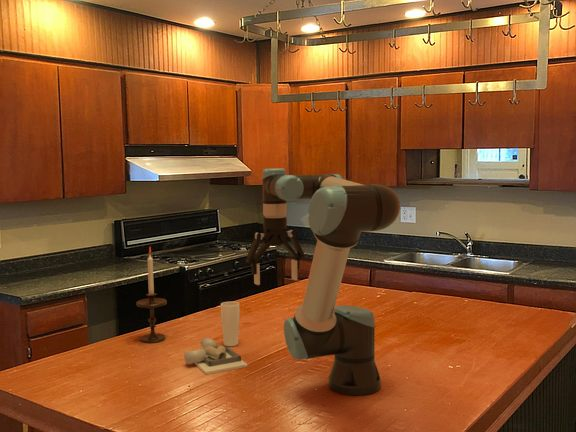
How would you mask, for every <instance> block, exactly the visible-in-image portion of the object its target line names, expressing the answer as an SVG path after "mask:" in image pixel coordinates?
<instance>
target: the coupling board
mask: <svg viewBox="0 0 576 432" xmlns="http://www.w3.org/2000/svg"><path fill="white" fill-rule="evenodd" d="M209 345H210V346H212V347H214V348H216V349H217V347H219V345H218V343H217V342H215V340H213V339H212V338H211V337H209V336H205V337H203V338H202V339H201V340H200V346H201V347H202V348H201V349H199V348H198V349H195V350H188V351H184V354H183V355H184V361H185V364H186V365H191V364H192V365H193V364H194V365H195V366H196V367H197V368H199V370H200V371H202V373H204V374H205V375H211V374H217V373H223V372H226V371H232V370H238V369H242V368H248V363H246V362H245V361H243V359H242V356H241V355H239V354H238V353H237V352H236V351H234V350H233V349H232V348H230V346H224V347H225V348H226V358H224V359H218V360H215V359H213V358H210V357H208V356H206V352H205V348H206V347H207V346H209Z"/></svg>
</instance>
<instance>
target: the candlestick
mask: <svg viewBox="0 0 576 432" xmlns="http://www.w3.org/2000/svg"><path fill="white" fill-rule="evenodd" d="M151 248H152V247H151V245H150V246H149V247H148V249H149V250H148V257H147V283H148V293H147V294H145V296H147V297H148V298H143V299H142V298H141V299H139V300H137V301H136V306H137V307H138V308H144V309H149V313H150V315H149V317H150V318H148V319H147V320H148V323H150V325H149V326H148V327H149V328H150V333H149V334H144V335H142V336H141V337H139V338H140V342H141V343H143V344H158V343H162V342H163V341H165V340H166V335H165V334H163V333H156V331H155V328H156V327H157V326H156V325H157V324H156V322H157V318H155V309H156V308H160V307H164V306H166V305H167V304H168V303H167V302H168V301H167V299H166V298H161V297H155V296H156V295H158V293H155V285H154V282H155V281H154V264H153V263H154V260H153V257H152V255H151V254H152V249H151Z"/></svg>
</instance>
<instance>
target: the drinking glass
mask: <svg viewBox="0 0 576 432" xmlns="http://www.w3.org/2000/svg"><path fill="white" fill-rule="evenodd" d="M240 318H241V310H240V302H238V301H223V302H221V303H220V321H221V328H222V339H223V341H222V343H223V346H224V347H227V346H228V347H236V346H238V344H239V336H240V334H239V333H240V332H239V331H240V320H241V319H240Z"/></svg>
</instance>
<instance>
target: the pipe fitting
mask: <svg viewBox="0 0 576 432" xmlns="http://www.w3.org/2000/svg"><path fill="white" fill-rule="evenodd" d="M225 347H226V346H225V345H218V347H217V349H216V348H214V347H212V346H210V345H209V346H207V347H206V348H205V349H204V350H205V352H206V356H208V357H210V358H213V359H215V360H218V359H224V358H226V348H225Z"/></svg>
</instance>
